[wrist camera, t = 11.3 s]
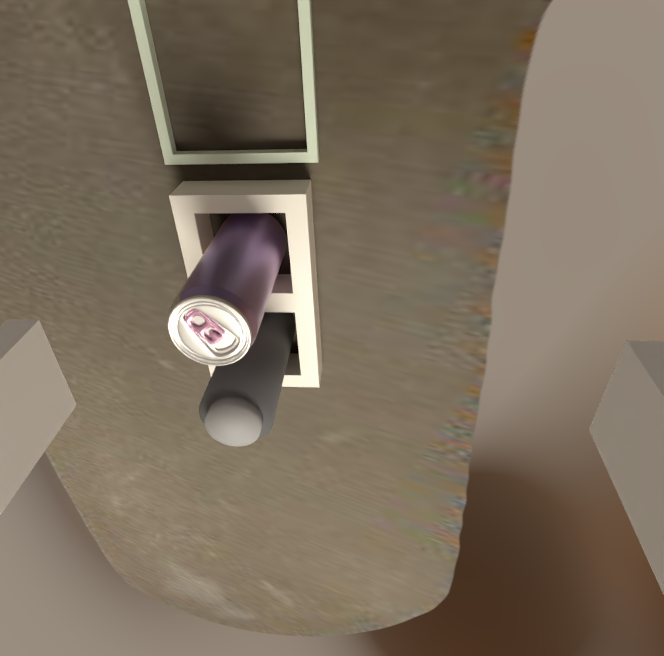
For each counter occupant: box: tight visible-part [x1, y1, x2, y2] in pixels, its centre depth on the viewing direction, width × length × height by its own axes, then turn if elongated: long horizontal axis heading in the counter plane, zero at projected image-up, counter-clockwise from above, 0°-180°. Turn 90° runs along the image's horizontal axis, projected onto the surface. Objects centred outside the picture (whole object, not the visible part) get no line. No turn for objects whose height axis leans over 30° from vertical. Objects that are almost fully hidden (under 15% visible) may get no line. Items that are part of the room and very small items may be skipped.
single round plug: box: [199, 312, 295, 446], centre depth 44 cm, size 6×6×14 cm
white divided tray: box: [169, 180, 322, 387], centre depth 46 cm, size 20×11×4 cm, turn 2°
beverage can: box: [167, 213, 287, 366], centre depth 39 cm, size 6×6×15 cm
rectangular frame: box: [128, 0, 319, 165], centre depth 37 cm, size 13×13×1 cm
